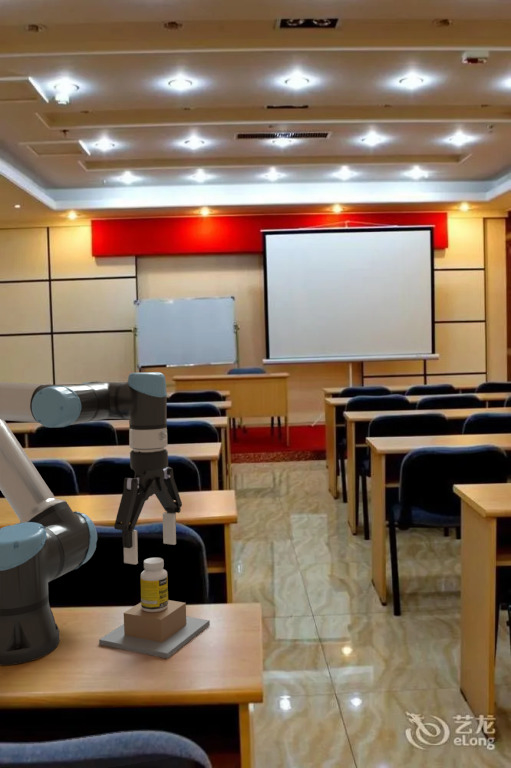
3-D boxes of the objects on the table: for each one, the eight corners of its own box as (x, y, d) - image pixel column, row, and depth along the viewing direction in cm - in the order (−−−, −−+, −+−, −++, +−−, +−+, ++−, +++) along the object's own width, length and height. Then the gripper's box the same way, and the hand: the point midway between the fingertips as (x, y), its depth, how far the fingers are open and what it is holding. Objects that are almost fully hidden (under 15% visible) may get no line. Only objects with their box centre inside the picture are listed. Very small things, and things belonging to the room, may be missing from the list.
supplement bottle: (162, 614, 126) (161, 565, 126) (137, 612, 127) (135, 564, 127) (172, 603, 131) (170, 556, 131) (147, 602, 133) (145, 555, 132)
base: (99, 644, 126) (98, 617, 126) (146, 613, 140) (145, 589, 140) (167, 658, 119) (166, 629, 119) (209, 624, 133) (208, 599, 133)
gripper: (126, 459, 115) (129, 575, 116) (196, 441, 138) (198, 538, 139) (93, 457, 118) (96, 569, 119) (167, 440, 141) (169, 534, 142)
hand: (151, 553), depth 129 cm, fingers open, 13 cm apart
